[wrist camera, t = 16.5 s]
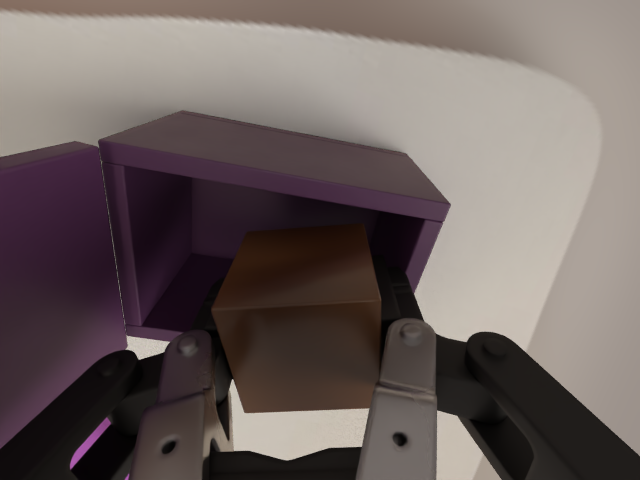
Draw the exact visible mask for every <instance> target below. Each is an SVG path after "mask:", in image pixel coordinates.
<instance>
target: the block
mask: <svg viewBox="0 0 640 480" xmlns="http://www.w3.org/2000/svg"><path fill="white" fill-rule="evenodd" d="M211 312H212V315H213V319H214V322H215V325H216V328H217V331H218V334H219V337H220V340H221V343H222V346H223V349H224V352H225V355H226V358H227V361H228V364H229V367H230V370H231V373H232V376H233V379H234V382H235V385H236V388H237V392H238V395H239V398H240V401H241V404H242V407H243V410H244V412H245V413H263V412H288V411H314V410H339V409H364V408H370V404H371V399H372V394H373V389H374V385H375V383H376V382H378V379H379V374H380V368H381V296H380V292H379V288H378V283H377V279H376V275H375V270H374V266H373V262H372V257H371V253H370V249H369V244H368V240H367V236H366V231H365V227H364V224H363V223H357V224H343V225H329V226H315V227H302V228H288V229H274V230H260V231H248V232H246V234H245V236H244V239H243V241H242V243H241V245H240V247H239V249H238V252H237V254H236V256H235V258H234V260H233V262H232V265H231V267H230V269H229V271H228V273H227V275H226V278H225V280H224V282H223V284H222V286H221V288H220V290H219V293H218V295H217V297H216V299H215V301H214V303H213V306H212V308H211Z"/></svg>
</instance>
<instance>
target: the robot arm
mask: <svg viewBox="0 0 640 480" xmlns="http://www.w3.org/2000/svg"><path fill="white" fill-rule="evenodd" d="M371 257H372V262H373V266H374V270H375V275H376V279H377V283H378V288H379V292H380V296H381V368H380V374H379V379H378V382H376V383H375V385H374V389H373V394H372V399H371V404H370V409H369V414H368V419H367V424H366V429H365V434H364V439H363V444H362V447H347V448H328V449H325V450H322V451H318V452H315V453H312V454H309V455H306V456H303V457H299V458H296V459H293V460H289V461H285V460H281V459H277V458H273V457H270V456H266V455H262V454H259V453H255V452H251V451H234V447H233V427H232V406H231V393H230V391H229V388H230V384H231V381H232V379H233V376H232V373H231V370H230V367H229V364H228V361H227V358H226V355H225V352H224V349H223V346H222V343H221V340H220V337H219V334H218V331H217V328H216V325H215V322H214V319H213V315H212V312H211V308H212V306H213V303H214V301H215V299H216V297H217V295H218V293H219V290H220V288H221V286H222V284H223V282H224V280H225V278H226V277H225V278H220V279H219V280H218V281H217V282H216V283H214V284H213V285H212V286H211V288H210V290H209V292H208V294H207V297H206V298H205V300H204V302H203V305H202V306H201V308H200V310H199V312H198V314H197V316H196V318H195V320H194V322H193V324H192V326H191V328H190V330H189V331H187V332H184V333H182V334H180V335H178V336H177V337H175V338H174V339H173V340H172V341H171V342H170V343H169V344H168V345H167V347H166V349H165V352H164V353H161V354H158V355H154V356H151V357H148V358H144V359H141V360H138V358H137V356H136V354H135V353H134V352H133V351H130V350H119V351H115V352H112V353H110V354H108V355H106V356H104V357H102V358H100V359H99V360H98V361H96V362H95V363H94V364H93V365H92V366H91V367H90V368H88V369H87V370H86V371H85V372H84V373H83V374H82V375H81V376H80V377H79V378H77V379H76V380H75V381H74V382H73V383H72V384H71V385H70V386H69V387H68V388H66V389H65V390H64V391H63V392H62V393H61V394H60V395H59V396H58V397H57V398H55V399H54V400H53V401H52V402H51V403H50V404H49V405H48V406H47V407H46V408H44V409H43V410H42V411H41V412H40V413H39V414H38V415H37V416H36V417H35V418H34V419H32V420H31V421H30V422H29V423H28V424H27V425H26V426H25V427H24V428H23V429H21V430H20V431H19V432H18V433H17V434H16V435H15V436H14V437H13V438H12V439H10V440H9V441H8V442H7V443H6V444H5V445H4V446H3V447H2V448H1V449H0V480H125V479H126V477H127V476H128V474H129V477H128V480H436V461H437V410H438V411H442V412H445V413H449V414H453V415H457V416H458V417H459V419H460V421H461V422H462V424H463V425H464V426H465V428H466V429H467V431H468V432H469V434H470V435H471V436H472V438H473V439H474V441H475V442H476V444H477V445H478V446H479V448H480V449H481V451H482V452H483V454H484V455H485V456H486V458H487V459H488V461H489V462H490V464H491V465H492V466H493V468H494V469H495V471H496V472H497V474H498V475H499V476H500V478H501V479H502V480H640V456H639V455H638V454H637V453H636V452H635V451H633V450H632V449H631V448H630V447H629V446H628V445H627V444H626V443H625V442H624V441H622V440H621V439H620V438H619V437H618V436H617V435H616V434H615V433H614V432H612V431H611V430H610V429H609V428H608V427H607V426H606V425H605V424H604V423H602V422H601V421H600V420H599V419H598V418H597V417H596V416H595V415H594V414H593V413H592V412H591V411H589V410H588V409H587V408H586V407H585V406H584V405H583V404H582V403H581V402H579V401H578V400H577V399H576V398H575V397H574V396H573V395H572V394H571V393H570V392H569V391H567V390H566V389H565V388H564V387H563V386H562V385H561V384H560V383H559V382H558V381H556V380H555V379H554V378H553V377H552V376H551V375H550V374H549V373H548V372H547V371H545V370H544V369H543V368H542V367H541V366H540V365H539V364H538V363H536V361H534V360H533V359H532V358H531V357H530V356H529V355H528V354H527V353H526V352H525V351H523V350H522V349H521V348H520V347H519V346H518V345H517V344H516V343H515V342H513V341H512V340H510V339H509V338H507V337H505V336H503V335H500V334H497V333H493V332H479V333H476V334H473V335H472V336H471V337H470V338H469V339H468V341H467V342H463V341H457V340H452V339H448V338H445V337H442V336H440V335H438V334H436V333H435V331H434V330H433V328H432V327H431V326H430V325H428V324H427V323H425V322H424V320H423V317H422V314H421V312H420V309H419V306H418V304H417V301H416V298H415V296H414V293H413V290H412V288H411V285H410V282H409V280H408V277H407V274H406V273H405V272H403V271H402V270H401V269H400V268H399V267H387V266H386V263H385V259H384V256H383V255H371ZM106 417H107V418H108V420H109V421H110V423H111V424H110V425H109V426H108V427H107V429H106V430H105V431H104V432H103V433H102V434H101V435H100V437H99V438H98V439H97V440H96V441H95V442H94V443H93V445H92V446H91V447H90V448H89V449H88V450H87V451H86V453H85V454H84V455H83V456H82V457H81V458H80V459H79V461H78V462H77V463H76V464H75V465H74V466H73V467H72V468H71V470H70V463H71V460H72V457H73V456H74V454H75V452H76V451H77V450H78V448H79V447H80V446H81V445H82V444H83V443H84V442H85V441H86V440H87V438H88V437H89V436H90V435H91V434H92V433H93V432H94V431H95V430H96V429H97V427H98V426H99V425H100V424H101V423H102V422H103V421H104V420H105V419H106Z"/></svg>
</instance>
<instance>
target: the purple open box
mask: <svg viewBox="0 0 640 480" xmlns="http://www.w3.org/2000/svg"><path fill="white" fill-rule="evenodd" d="M98 143H99V150H100V157H101V161H103V162H102V170H103V177H104V183H105V190H106V197H107V204H108V211H109V218H110V225H111V231H112V238H113V245H114V252H115V259H116V266H117V273H118V279H119V286H120V293H121V300H122V307H123V314H124V321H125V328H126V335H127V336H132V337H139V338H147V339H154V340H161V341H168V342H171V341H172V340H173V339H174V338H175V337H177V336H178V335H180V334H182V333H184V332H187V331H189V330H190V328H191V326H192V324H193V322H194V320H195V318H196V316H197V314H198V312H199V310H200V308H201V306H202V305H203V302H204V300H205V298H206V297H207V294H208V292H209V290H210V288H211V286H212V285H213V284H214V283H216V282H217V281H218V280H219V279H220V278H225V277H226V275H227V273H228V271H229V269H230V267H231V265H232V262H233V260H234V258H235V256H236V254H237V252H238V249H239V247H240V245H241V243H242V241H243V239H244V236H245V234H246V232H248V231H260V230H274V229H288V228H302V227H315V226H329V225H343V224H357V223H363V224H364V227H365V231H366V236H367V240H368V244H369V249H370V253H371V255H383V256H384V259H385V263H386V266H387V267H399V268H400V269H401V270H402V271H403V272H405V273H406V274H407V277H408V280H409V282H410V285H411V288H412V290H413V293H415V290H416V288H417V285H418V283H419V280H420V278H421V276H422V273H423V271H424V268H425V266H426V263H427V261H428V259H429V256H430V254H431V251H432V249H433V246H434V244H435V242H436V239H437V237H438V234H439V232H440V229H441V227H442V225H443V222H444V220H445V218H446V215H447V213H448V211H449V208H450V206H451V204H450V203H449V202H448V200H447V199H446V198H445V197H444V196H443V195H442V194H441V192H440V191H439V190H438V189H437V188H436V187H435V186H434V184H433V183H432V182H431V181H430V180H429V179H428V178H427V176H426V175H425V174H424V173H423V172H422V171H421V170H420V168H419V167H418V166H417V165H416V164H415V163H414V162H413V160H412V159H411V158H410V157H409V156H408V155H407V154H405V153H400V152H395V151H390V150H385V149H379V148H374V147H369V146H364V145H359V144H354V143H348V142H343V141H338V140H333V139H328V138H322V137H317V136H312V135H307V134H302V133H296V132H291V131H286V130H281V129H276V128H271V127H265V126H260V125H255V124H250V123H245V122H239V121H234V120H229V119H224V118H219V117H214V116H208V115H203V114H198V113H193V112H188V111H180V112H177V113H174V114H171V115H168V116H165V117H162V118H159V119H157V120H154V121H151V122H148V123H145V124H142V125H140V126H137V127H134V128H131V129H128V130H125V131H123V132H120V133H117V134H114V135H111V136H108V137H106V138H103V139H100V140H99V141H98Z"/></svg>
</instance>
